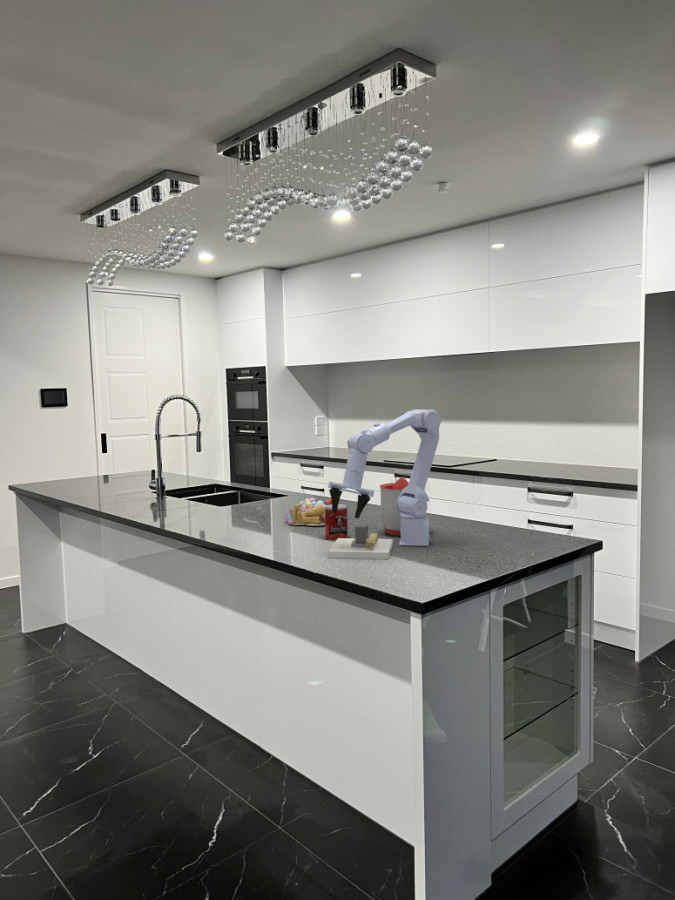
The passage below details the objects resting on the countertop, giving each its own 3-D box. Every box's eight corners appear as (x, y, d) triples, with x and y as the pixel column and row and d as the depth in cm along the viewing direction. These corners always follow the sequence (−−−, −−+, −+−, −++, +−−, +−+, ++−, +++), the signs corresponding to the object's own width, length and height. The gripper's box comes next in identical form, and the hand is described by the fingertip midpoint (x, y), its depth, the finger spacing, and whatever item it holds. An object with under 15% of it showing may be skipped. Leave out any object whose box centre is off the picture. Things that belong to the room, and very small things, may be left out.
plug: (372, 548, 212) (372, 524, 212) (370, 552, 207) (370, 528, 206) (353, 547, 213) (353, 524, 213) (351, 552, 207) (350, 528, 207)
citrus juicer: (428, 539, 225) (428, 480, 224) (377, 537, 229) (376, 479, 227) (431, 529, 241) (431, 474, 239) (383, 528, 244) (382, 473, 242)
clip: (377, 538, 217) (377, 529, 217) (373, 549, 202) (372, 539, 202) (371, 538, 217) (371, 529, 217) (366, 549, 203) (366, 539, 202)
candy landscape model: (345, 527, 248) (345, 503, 247) (282, 528, 249) (281, 504, 248) (346, 515, 273) (345, 492, 272) (288, 516, 273) (287, 493, 273)
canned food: (328, 540, 226) (328, 508, 225) (323, 536, 233) (322, 504, 232) (350, 539, 228) (350, 507, 227) (344, 534, 235) (343, 503, 234)
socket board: (392, 545, 217) (392, 539, 217) (388, 559, 200) (388, 552, 200) (337, 544, 220) (337, 538, 220) (328, 557, 203) (328, 551, 202)
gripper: (328, 466, 205) (319, 510, 205) (372, 475, 200) (362, 520, 199) (336, 468, 212) (327, 510, 211) (379, 477, 206) (370, 520, 206)
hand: (345, 515), depth 206 cm, fingers open, 7 cm apart
